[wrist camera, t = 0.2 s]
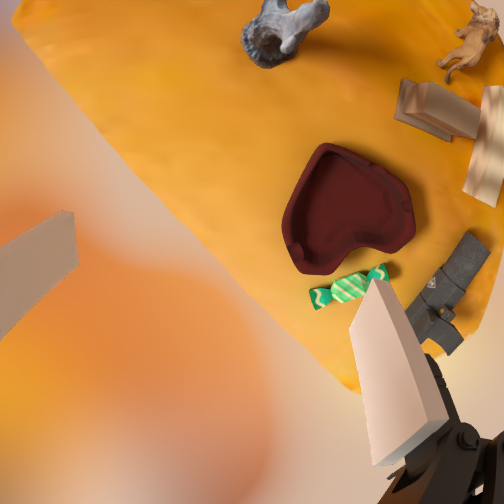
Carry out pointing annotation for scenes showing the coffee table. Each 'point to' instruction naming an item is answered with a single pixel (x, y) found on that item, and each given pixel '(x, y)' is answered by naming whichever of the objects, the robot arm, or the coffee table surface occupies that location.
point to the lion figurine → (473, 39)
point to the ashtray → (344, 210)
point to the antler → (280, 30)
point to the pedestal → (436, 110)
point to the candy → (347, 287)
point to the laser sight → (446, 295)
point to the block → (488, 149)
